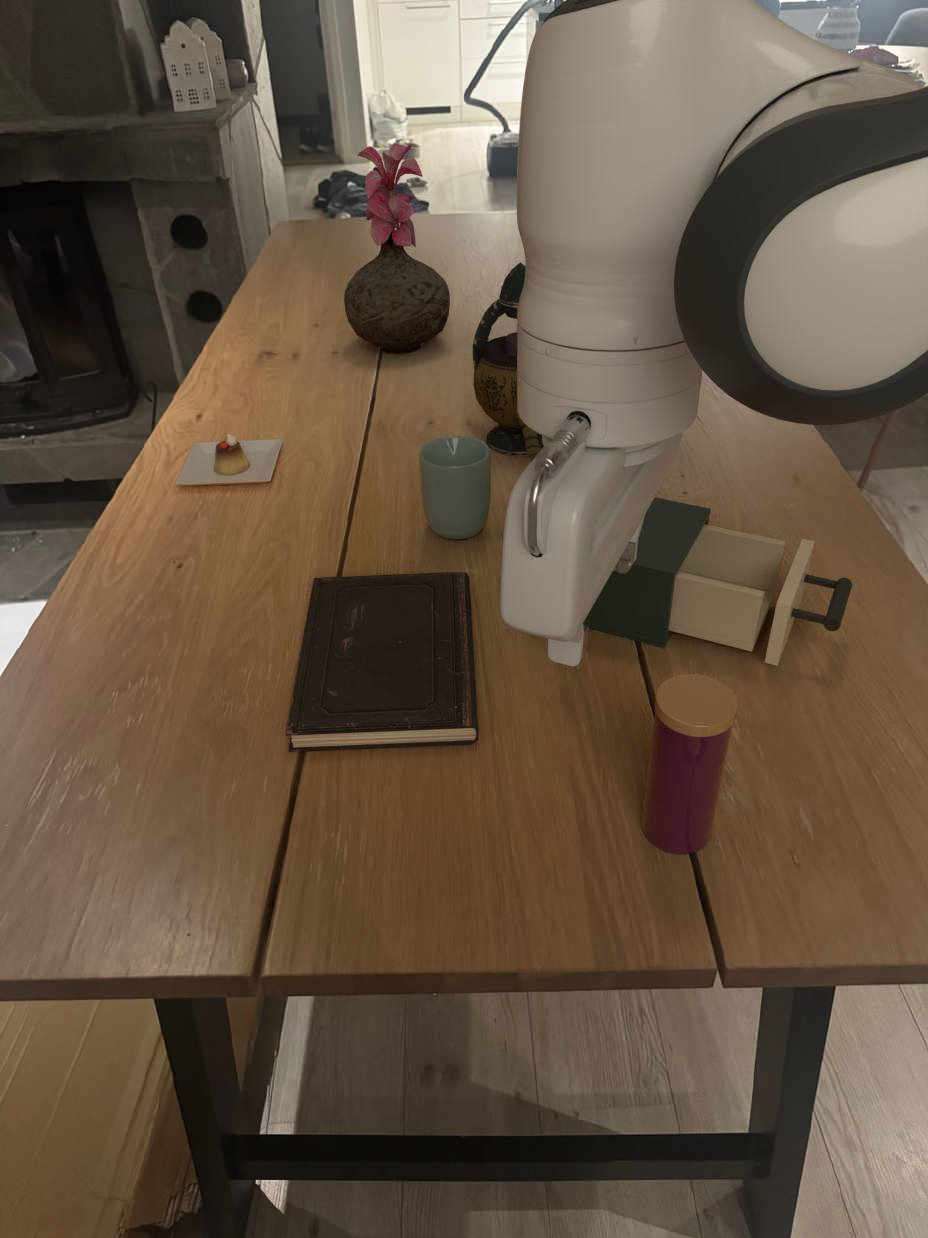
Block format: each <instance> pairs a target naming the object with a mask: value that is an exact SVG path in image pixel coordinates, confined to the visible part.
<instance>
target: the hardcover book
mask: <svg viewBox="0 0 928 1238" xmlns="http://www.w3.org/2000/svg"><path fill="white" fill-rule="evenodd" d="M470 580H471V579H470V575H469V574H468V573H467V572H465V571H445V572H443V571H442V572H420V573H419V572H418V573H398V574H375V575H374V574H373V575H372V574H371V575H370V574H369V575H348V576H324V577H313V581H312V585H311V591H310V597H309V602H308V606H307V607H308V608H307V612H306V619H305V623H304V630H303V634H302V639H301V640H302V641H301V646H300V651H299V657H298V662H297V667H296V672H295V679H294V683H293V689H292V695H291V699H290V706H289V710H288V716H287V721H286V727H285V733H284V735H285V737H289V736H290V740H289V745H288V753H298V752H299V753H301V752H303V753H304V752H327V751H348V750H351V751H353V750H374V749H394V748H395V749H398V748H399V749H400V748H419V747H420V748H421V747H422V748H423V747H443V746H444V747H445V746H446V747H447V746H467V745H469V746H470V745H471V746H472V745H473V744H475V743H476V742H477V741H478V740H479V719H478V718H479V717H478V703H477V685H476V684H477V683H476V667H475V651H474V650H475V649H474V648H475V647H474V634H473V633H474V631H473V616H472V615H473V614H472V599H471V598H472V597H471V581H470Z"/></svg>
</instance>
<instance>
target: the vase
mask: <svg viewBox="0 0 928 1238" xmlns="http://www.w3.org/2000/svg"><path fill="white" fill-rule="evenodd" d="M412 147H413V146H412V145H411V144H408V145H407V146H405V145H404V144H400V143H397V142H393V143H392V144H391V147H390V149H389V153H386V152H384V151H382V154H381V155H380V153H379V152H378V150H377V149H375V148H374V147H373V146H372V145H371V146H366V147H365V148H364V149H362V150H360V152H358V153H357V157H361V158H364V159H366V160H368V161H370V162H371V163H372V164H374V167H373V168H372V170H370V171H369V172H368V173H367V174H366V176H365V179H364V184H365V185H364V186H365V192H366V197H367V199H368V200H367V202H366V210H365V217H366V218H365V221H371V222H370V224H371V225H370V237H371V238H372V240H373V242H374V243H375V245H376V246H377V247H380V249H379V252H378V254H377V255H376V256H375V257H374V258H373V259H372V260H370V261H369V262H366V264H364V265H363V266H362V267H360V268H359V269H358V270H357V271H356V272H355V273H354V275H353V276H352V277H351V278H350V280H349V282H348V283H347V285H346V287H345V289H344V295H343V296H344V297H343V303H344V310H345V315H346V319H347V321H348V323H349V325H350V326H351V328H352V330H353V331H354V333H355V335H356V336H357V337H359V338H360V339H362V340H364V341H365V342H367V343H369V344H371V345H372V346H374V347H377V348H378V349H380V350H381V351H382V352H384V353H385V354H389V355H404V354H410V353H414V352H416V351H418V350H420V349H421V347H422V346H423V345H424V344H426V343H428V342H430V341H431V340H434V338H436V337H437V336H438V335H439V334H440V333H442V332H443V331H444V330H445V327H446V324H447V322H448V319H449V315H450V306H451V294H450V289H449V285H448V283H447V282H446V280H445V279H444V278H443V276H442V275H441V274H440V273H438V272H437V270H435V269H434V268H433V267H431V266H430V265H428V264H426V263H424V262H422V261H420V260H418V259H416V258H413V257H412V256H410V255H409V254H408V253H407V251H406V249H405V247H412V246H413V247H414V248H416V247H417V243H416V231H415V225H414V222H413V220H412V219H411V217H412V216H413V214H414V212H415V208H414V207H413V206H412V205H411V204H410V201H412V200H415V199H417V196H415V195H412V194H407V193H403V192H398V193H397V194H395V190H396V188H397V185H398V183H399V181H400V179H401V177H403V176H404V175H413V176H418V177H422V178H423V173H422V170H421V168H420V165H419V163H418V161H417V159H416V158H415V157H412V156H410V157H409V156H408V157H406V159H404V160H403V158H404V156H405V155H406V154H407V153H408V152H409V151H411V148H412ZM402 160H403V161H402ZM400 163H401V164H400ZM399 165H400V167H399Z"/></svg>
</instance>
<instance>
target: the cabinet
mask: <svg viewBox="0 0 928 1238" xmlns="http://www.w3.org/2000/svg"><path fill="white" fill-rule="evenodd" d="M710 517H711V508H709V507H704V506H699V505H695V504H689V503H685V502H680V501H675V500H670V499H664V498H659V497H655V498H654V500H653V501H652V503H651V505H650V507H649V508H648V510H647V512H646V514H645V517H644V521H643V524H642V528H641V531H640V535H639V538H638V547H637V557H636V560H635V561H634V563H633V565H632V566H631V568H630V570H629V571H628V572H627V573H625V574H622V573H618V572H617V571H612V573H611V575H610V577H609V579H608V580H607V582H606V584H605V586H604V587H603V589H602V591H601V593H600V594H599V596H598V598H597V600H596V601H595V603H594V605H593V607H592V608H591V610H590V612H589V614H588V615H587V617H586V619H585V621H584V622H583V625H585V626H589V630H593V631H598V632H600V633H601V632H602V633H604V634H609V635H612V636H616V637H620V638H624V639H627V640H630V641H631V640H632V641H636V642H640V643H643V644H646V645H651V646H655V647H657V648H662V649H665V648H666V646H667V645H668V643H669V641H670V639H671V637H672V635H673V633H674V632H673V631H669V624H670V616H671V608H672V600H673V592H674V584H675V576H676V574H677V572H678V571H679V569H680V567H681V565H682V564H683V562H684V560H685V558H686V557H687V555H688V553H689V551H690V549H691V548H692V546H693V544H694V542H695V541H696V539H697V537H698V535H699V534H700V532H701V530H702V528H703V526H704V525H705V524H706V525H709V523H710Z"/></svg>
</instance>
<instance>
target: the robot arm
mask: <svg viewBox="0 0 928 1238" xmlns="http://www.w3.org/2000/svg"><path fill="white" fill-rule="evenodd" d="M523 77H524V78H523V85H522V91H521V92H522V93H521V103H520V114H519V128H518V143H517V144H518V145H517V167H516V168H517V169H516V225H517V230H518V233H519V236H520V240H521V243H522V247H523V252H524V262H525V266H526V273H525V281H524V286H523V290H522V293H521V296H520V300H519V304H518V310H517V319H516V332H517V409H518V414H519V417H520V418H521V420H522V421H523V422H524V423H525V425H527V426H528V427H529V428H530V429H532V430H533V431H535V432H537V433H538V434H540V435H542V442H543V445H544V447H543V448H542V450H541V451H540V452H539V453H538V454H537V456H536V457H535V458H534V459H533V460H532V462H531V461H530V463H529V464H528V465H527V467H525V468H524V470H523V471H522V472H521V474H520V475H519V476H518V478H517V480H516V481H515V483H514V485H513V487H512V489H511V492H510V494H509V497H508V502H507V505H506V510H505V518H504V525H503V534H502V549H501V565H500V568H501V569H500V588H499V589H500V590H499V608H500V609H499V611H500V617H501V618H502V620H503V622H504V623H505V625H506V626H507V627H508V628H509V629H511V630H513V631H515V632H518V633H522V634H525V635H529V636H533V637H538V638H541V639H547V656H548V659H549V660H551V661H552V662H553V663H556V664H561V665H565V666H569V667H577V666H578V665H579V664H580V662H581V660H582V659H583V657H584V655H585V653H586V651H587V650H588V647H589V640H588V639H589V631H590V628H589V626H585V625H583V622H584V621H585V619H586V617H587V615H588V614H589V612H590V610H591V608H592V607H593V605H594V603H595V601H596V600H597V598H598V596H599V594H600V593H601V591H602V589H603V587H604V586H605V584H606V582H607V580H608V579H609V577H610V575H611V573H612V571H617V572H618V573H622V574H625V573H627V572H628V571H629V570H630V568H631V566H632V565H633V563H634V561H635V560H636V557H637V547H638V538H639V535H640V531H641V528H642V524H643V521H644V517H645V514H646V512H647V510H648V508H649V507H650V505H651V503H652V501H653V500H654V498H656V497H657V494H658V492H659V491H660V489H661V487H662V485H663V484H664V482H665V480H666V479H667V476H668V475H669V474H670V472H671V470H672V468H673V466H674V464H675V461H676V458H677V455H678V452H679V447H680V445H681V443H682V442H681V441H682V437H683V432H685V431H686V430H688V429H689V428H690V427H691V426H692V425H693V423H694V422H695V421H696V419H697V415H698V411H699V402H700V394H701V385H702V379H703V378H702V377H703V373H704V374H705V375H706V377H708V378H709V380H710V381H712V383H714V385H715V386H717V387H718V388H719V389H720V390H721V391H722V392H723V393H725V394H726V395H728V397H730V398H732V399H733V400H734V401H735V402H738V403H739V404H741V405H743V406H744V407H746V408H748V409H750V410H752V411H754V412H756V413H759V414H761V415H764V416H766V417H770V418H773V419H776V420H780V421H782V422H783V421H784V422H788V423H794V424H799V425H800V424H801V425H808V426H835V425H836V426H837V425H846V424H852V423H858V422H863V421H867V420H871V419H874V418H878V417H881V416H884V415H886V414H889V413H890V414H891V413H893V412H894V411H897V410H900V409H901V408H903V407H906V406H907V405H909V404H912V403H914V402H916V401H917V400H919V399H921V398H923V397H924V396H925V395H927V394H928V85H925V86H924V85H922V84H921V83H919V82H918V81H917V80H915V79H913V78H912V77H910V76H908V75H907V74H904V73H902V72H900V71H897V70H895V69H892V68H889V67H886V66H883V65H881V64H877V63H875V62H872V61H869V60H866V59H863V58H860V57H857V56H854V55H852V54H849V53H847V52H844V51H841V50H839V49H836V48H834V47H831V46H829V45H827V44H824V43H823V42H821V41H818V40H817V39H815V38H813V37H810V36H809V35H807V34H805V33H803V32H801V31H800V30H798V29H796V28H795V27H793V26H791V25H789V24H788V23H786V22H784V20H782V19H780V18H778V16H776V15H774V14H773V13H771V12H770V11H768V10H766V9H765V8H764V7H763V6H761V5H760V4H759V3H757V2H756V1H755V0H564V1H563V2H561V3H560V4H559V5H557V6H556V7H555V8H554V9H553V10H552V11H551V12H550V13H548V15H547V16H546V17H545V18H544V19H543V21H542V23H541V24H540V26H539V28H537V30H536V31H535V33H534V35H533V38H532V40H531V44H530V47H529V51H528V55H527V60H526V65H525V70H524V76H523Z"/></svg>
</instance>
